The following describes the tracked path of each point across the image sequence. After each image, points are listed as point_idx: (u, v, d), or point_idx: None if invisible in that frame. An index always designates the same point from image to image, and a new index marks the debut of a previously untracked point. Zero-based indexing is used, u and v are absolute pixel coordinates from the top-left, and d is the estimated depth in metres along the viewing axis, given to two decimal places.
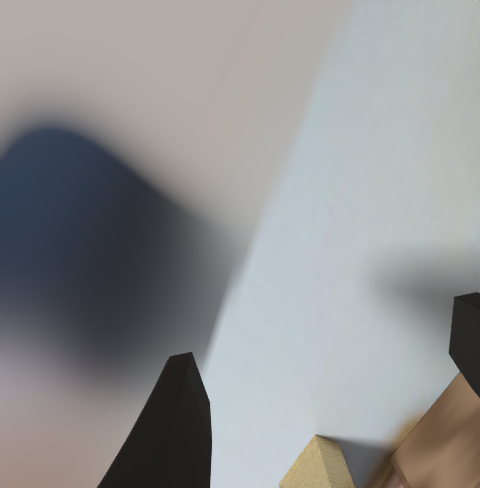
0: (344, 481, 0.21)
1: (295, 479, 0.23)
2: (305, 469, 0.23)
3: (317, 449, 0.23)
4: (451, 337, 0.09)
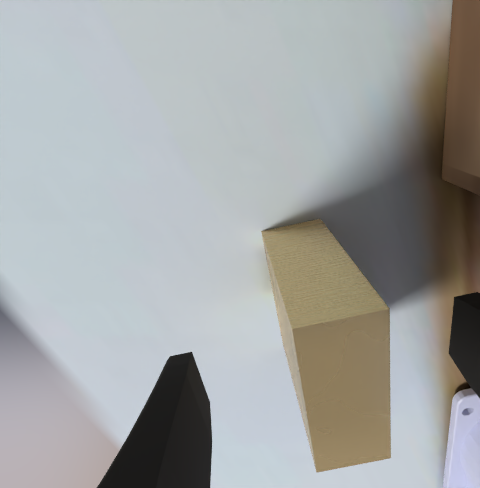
0: (325, 267, 0.09)
1: (280, 322, 0.12)
2: (276, 297, 0.11)
3: (267, 250, 0.11)
4: (451, 337, 0.09)
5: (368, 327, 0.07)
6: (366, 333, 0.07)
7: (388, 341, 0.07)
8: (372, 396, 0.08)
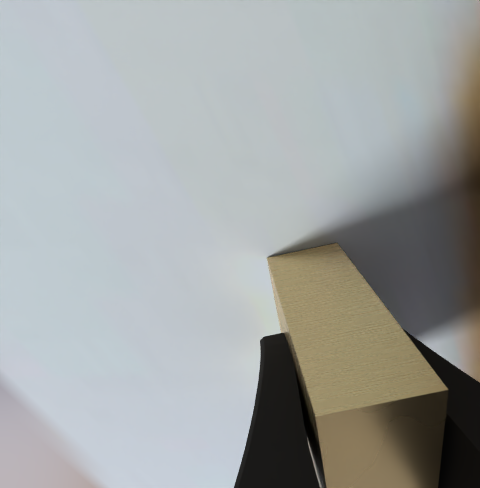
0: (351, 315, 0.07)
1: None
2: None
3: (275, 284, 0.09)
4: None
5: (418, 411, 0.05)
6: (414, 418, 0.05)
7: (441, 426, 0.06)
8: None
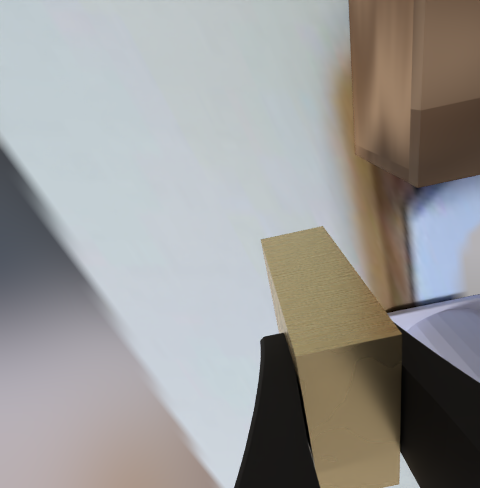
0: (330, 283, 0.08)
1: None
2: (276, 310, 0.10)
3: (267, 261, 0.10)
4: None
5: (378, 353, 0.06)
6: (376, 359, 0.07)
7: (399, 367, 0.07)
8: (381, 424, 0.07)
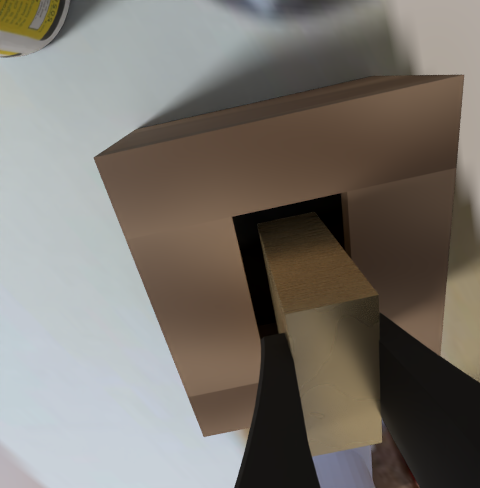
0: (318, 257, 0.09)
1: (275, 314, 0.12)
2: (271, 288, 0.11)
3: None
4: None
5: (358, 313, 0.07)
6: (356, 319, 0.07)
7: (378, 327, 0.08)
8: (363, 382, 0.08)
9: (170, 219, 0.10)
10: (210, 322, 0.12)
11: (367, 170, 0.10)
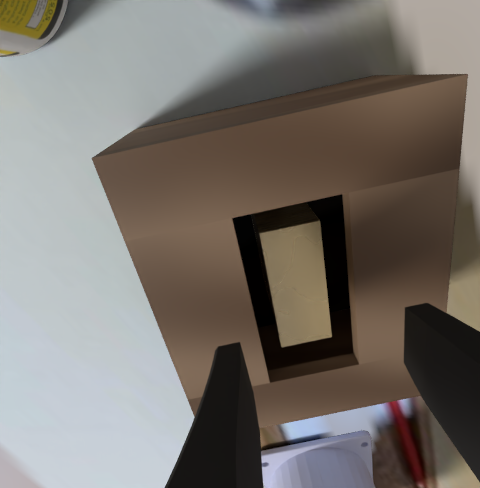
0: None
1: (260, 257, 0.16)
2: None
3: None
4: (404, 347, 0.09)
5: (307, 233, 0.11)
6: (307, 238, 0.11)
7: (321, 244, 0.11)
8: (314, 286, 0.12)
9: (169, 220, 0.10)
10: (210, 324, 0.12)
11: (369, 171, 0.10)
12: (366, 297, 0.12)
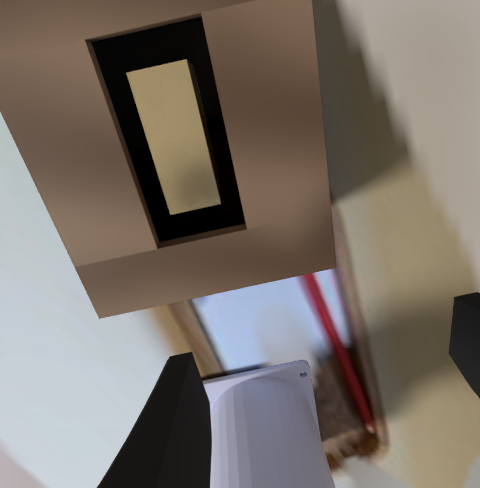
0: None
1: None
2: None
3: None
4: (451, 337, 0.09)
5: (176, 74, 0.11)
6: (176, 80, 0.11)
7: (193, 90, 0.11)
8: (193, 140, 0.12)
9: (20, 40, 0.10)
10: (83, 172, 0.12)
11: None
12: (240, 145, 0.12)
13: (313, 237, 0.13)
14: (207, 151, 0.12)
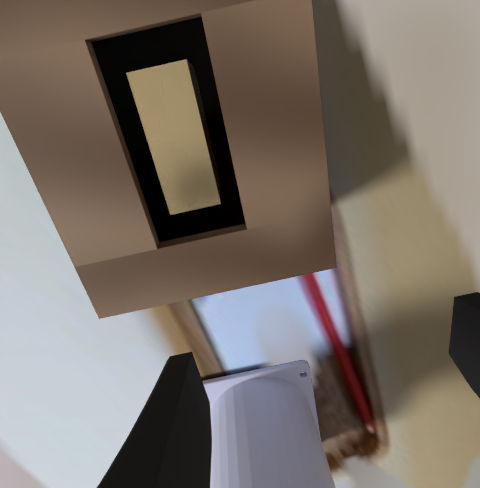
0: None
1: None
2: None
3: None
4: (451, 337, 0.09)
5: (176, 74, 0.11)
6: (176, 80, 0.11)
7: (193, 90, 0.11)
8: (193, 140, 0.12)
9: (20, 40, 0.10)
10: (83, 172, 0.12)
11: None
12: (240, 145, 0.12)
13: (313, 237, 0.13)
14: (207, 151, 0.12)
